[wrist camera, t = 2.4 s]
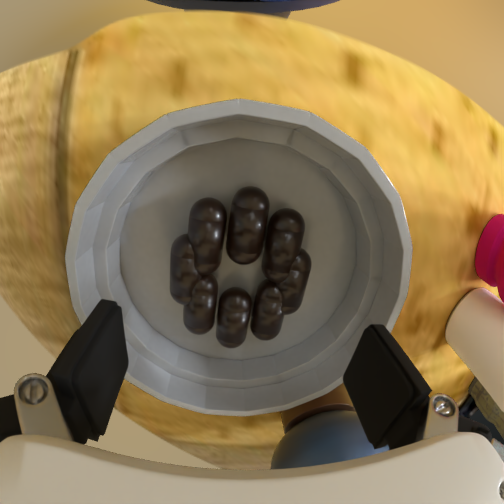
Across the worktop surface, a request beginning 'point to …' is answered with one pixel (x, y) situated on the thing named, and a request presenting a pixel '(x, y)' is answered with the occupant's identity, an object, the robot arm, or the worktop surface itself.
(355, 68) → the worktop surface
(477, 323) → the can
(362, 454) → the ball stand
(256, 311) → the chocolate capsule cluster
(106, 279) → the bowl
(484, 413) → the moai statue figurine
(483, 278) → the pepper mill
